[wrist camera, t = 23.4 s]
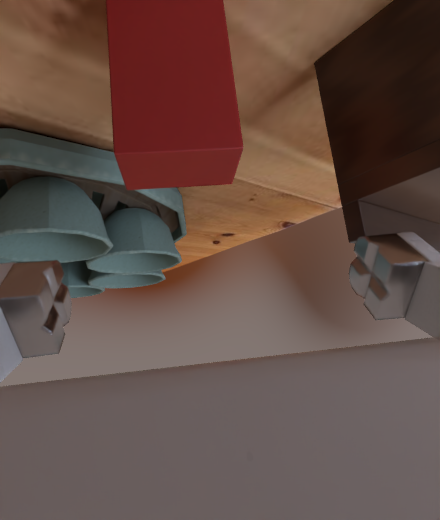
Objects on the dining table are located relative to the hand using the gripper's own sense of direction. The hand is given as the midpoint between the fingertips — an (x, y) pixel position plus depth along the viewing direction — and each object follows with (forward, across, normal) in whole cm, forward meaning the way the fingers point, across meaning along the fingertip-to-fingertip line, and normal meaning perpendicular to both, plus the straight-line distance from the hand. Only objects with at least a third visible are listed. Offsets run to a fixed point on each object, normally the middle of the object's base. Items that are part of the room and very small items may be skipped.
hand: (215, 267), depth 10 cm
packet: (+17, +1, -6) cm, 18 cm away
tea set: (+37, +19, +14) cm, 44 cm away
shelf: (+21, -22, -3) cm, 31 cm away
